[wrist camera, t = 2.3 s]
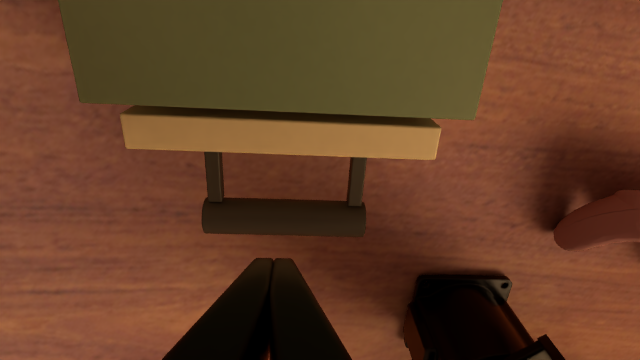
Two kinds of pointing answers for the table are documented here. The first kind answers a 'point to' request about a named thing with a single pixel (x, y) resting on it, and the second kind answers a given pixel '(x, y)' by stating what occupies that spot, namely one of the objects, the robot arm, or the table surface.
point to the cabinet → (284, 54)
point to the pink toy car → (601, 222)
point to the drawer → (280, 138)
